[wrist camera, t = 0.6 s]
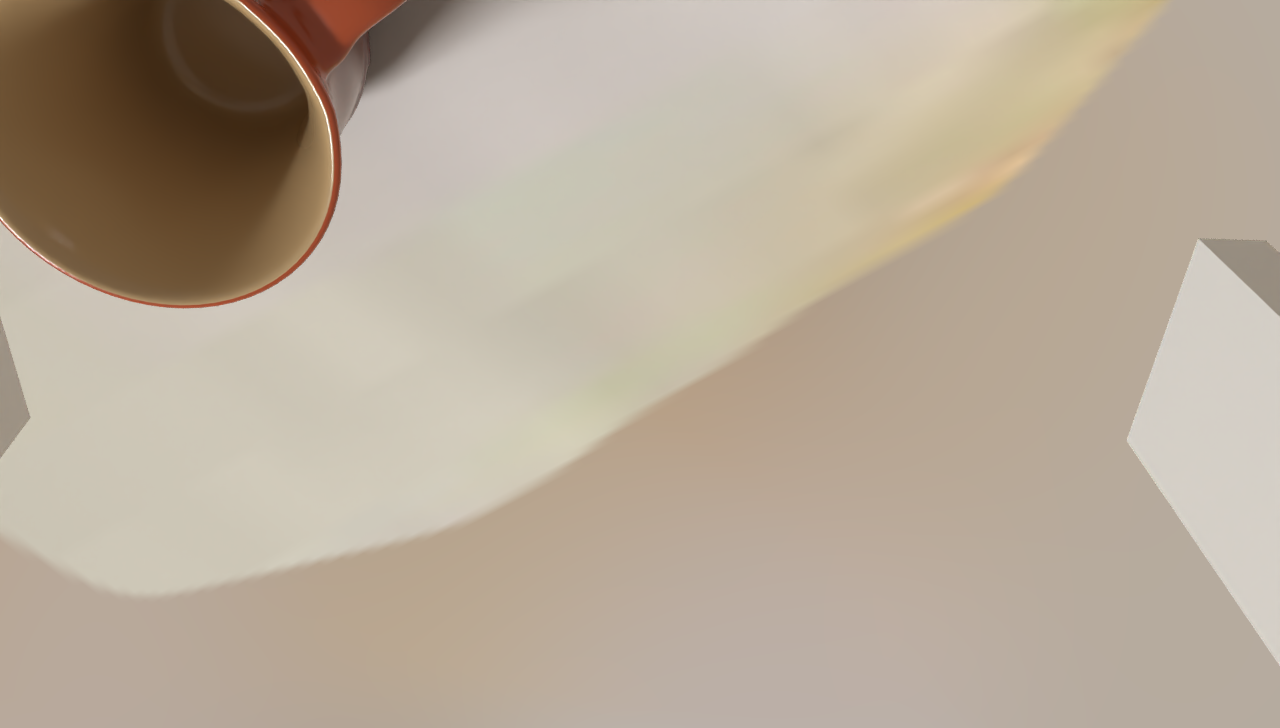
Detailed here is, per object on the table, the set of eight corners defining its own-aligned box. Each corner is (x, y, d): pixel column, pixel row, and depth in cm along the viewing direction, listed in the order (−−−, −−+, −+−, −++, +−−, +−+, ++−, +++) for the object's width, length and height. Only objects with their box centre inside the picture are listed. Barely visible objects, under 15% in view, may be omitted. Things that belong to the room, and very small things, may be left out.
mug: (247, 200, 37) (148, 365, 29) (44, -24, 33) (-142, 90, 25) (541, 7, 34) (527, 128, 26) (358, -267, 30) (269, -232, 22)
